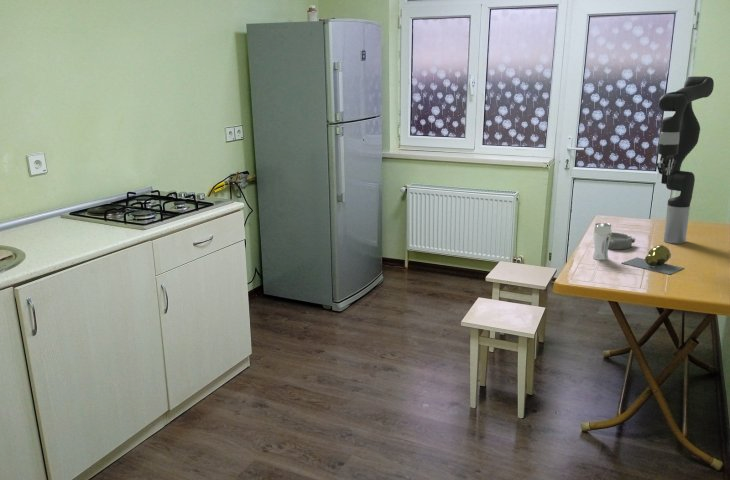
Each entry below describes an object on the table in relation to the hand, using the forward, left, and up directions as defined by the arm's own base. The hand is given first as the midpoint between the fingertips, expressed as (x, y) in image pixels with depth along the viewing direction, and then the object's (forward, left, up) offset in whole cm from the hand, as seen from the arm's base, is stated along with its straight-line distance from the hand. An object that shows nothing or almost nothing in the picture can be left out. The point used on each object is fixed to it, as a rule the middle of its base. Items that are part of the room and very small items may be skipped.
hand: (664, 183), depth 251 cm
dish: (+2, -18, -31) cm, 36 cm away
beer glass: (+25, -12, -31) cm, 42 cm away
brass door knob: (+13, +9, -26) cm, 31 cm away
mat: (+20, +8, -31) cm, 37 cm away
